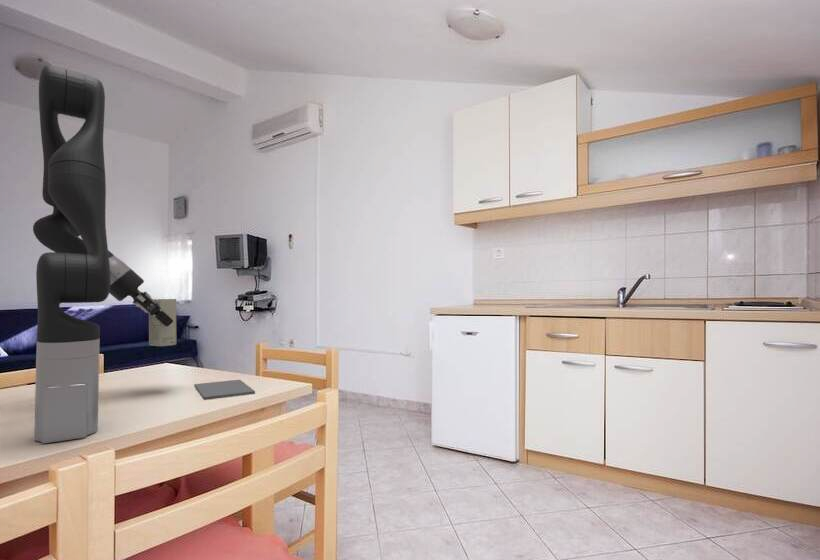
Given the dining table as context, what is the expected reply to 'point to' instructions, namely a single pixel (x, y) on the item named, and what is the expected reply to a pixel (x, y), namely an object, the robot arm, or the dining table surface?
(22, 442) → the dining table surface
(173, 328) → the skincare box
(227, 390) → the mat
